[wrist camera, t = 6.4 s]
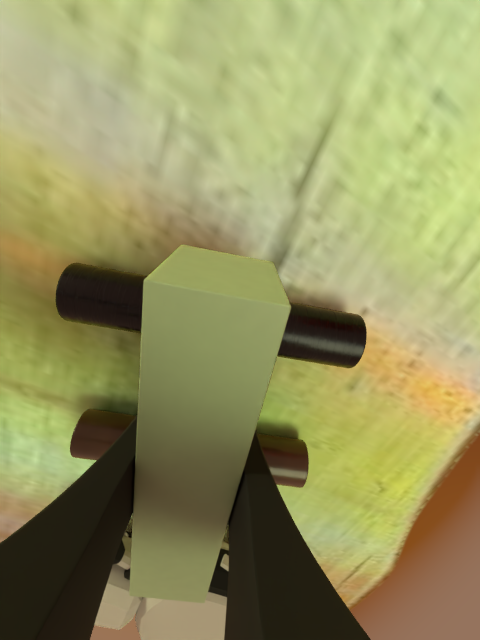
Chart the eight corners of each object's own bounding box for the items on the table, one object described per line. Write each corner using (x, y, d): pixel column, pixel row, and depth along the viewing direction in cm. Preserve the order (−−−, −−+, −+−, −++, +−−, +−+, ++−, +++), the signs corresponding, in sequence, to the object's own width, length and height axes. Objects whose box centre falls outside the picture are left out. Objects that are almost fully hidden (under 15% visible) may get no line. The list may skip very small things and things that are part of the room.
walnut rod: (93, 430, 16) (71, 467, 14) (92, 399, 15) (68, 434, 13) (291, 458, 17) (299, 497, 15) (303, 430, 16) (312, 468, 14)
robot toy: (66, 557, 24) (230, 605, 25) (25, 633, 20) (224, 686, 21) (83, 467, 19) (287, 531, 20) (33, 542, 15) (293, 618, 16)
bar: (213, 507, 16) (204, 604, 12) (155, 499, 15) (128, 596, 12) (273, 262, 10) (292, 306, 6) (181, 243, 9) (143, 278, 6)
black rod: (88, 307, 13) (57, 330, 11) (86, 256, 12) (52, 271, 10) (335, 349, 14) (351, 379, 12) (352, 306, 13) (374, 330, 11)
